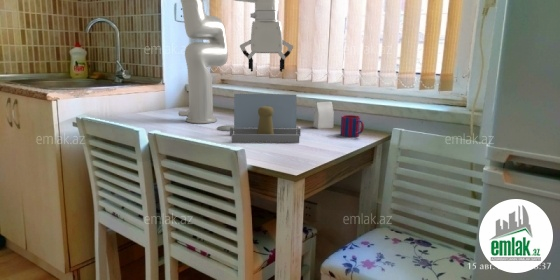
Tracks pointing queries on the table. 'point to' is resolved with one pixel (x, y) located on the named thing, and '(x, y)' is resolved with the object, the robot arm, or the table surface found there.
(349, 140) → the table surface
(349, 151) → the table surface
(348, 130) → the mug
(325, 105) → the white printed box
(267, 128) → the cork
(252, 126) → the panel
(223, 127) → the pad
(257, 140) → the bar
